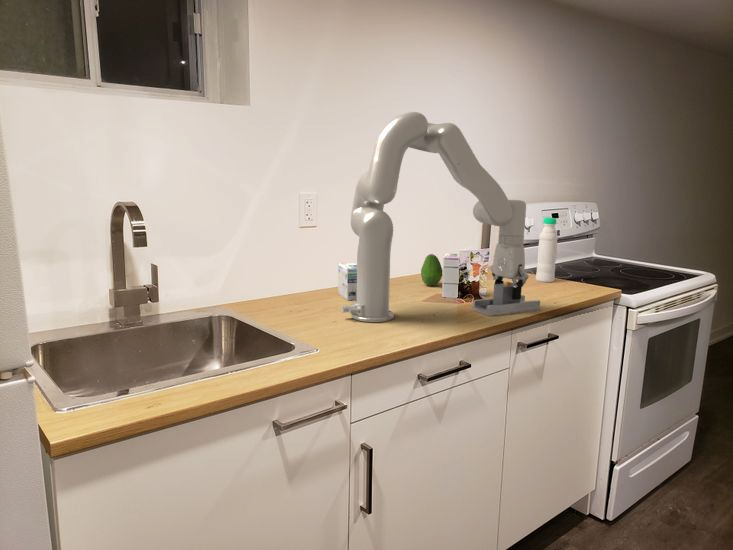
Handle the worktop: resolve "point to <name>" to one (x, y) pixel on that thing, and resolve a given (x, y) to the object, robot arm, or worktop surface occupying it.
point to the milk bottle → (547, 251)
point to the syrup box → (450, 275)
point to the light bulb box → (347, 280)
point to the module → (503, 293)
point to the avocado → (431, 270)
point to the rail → (505, 306)
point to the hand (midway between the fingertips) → (507, 296)
